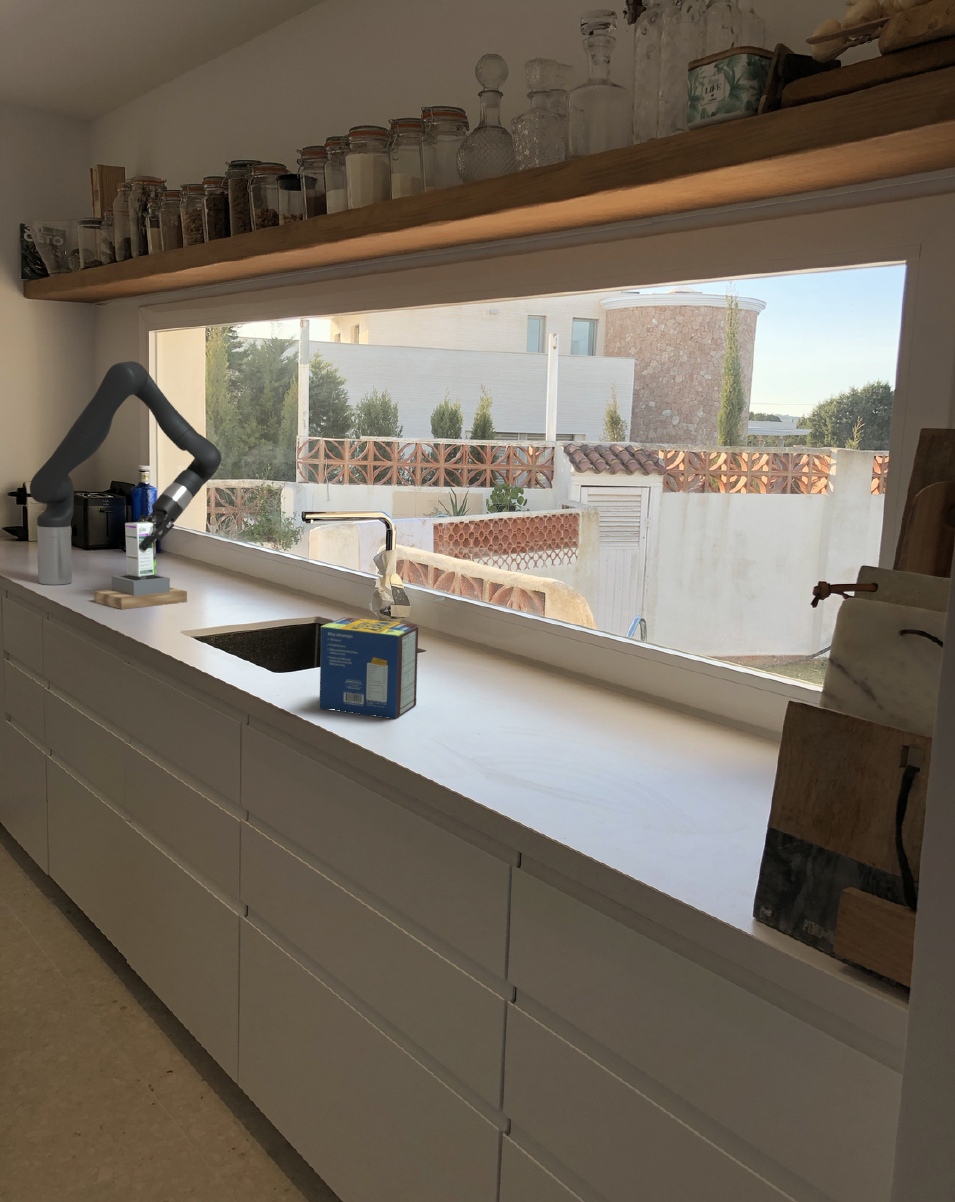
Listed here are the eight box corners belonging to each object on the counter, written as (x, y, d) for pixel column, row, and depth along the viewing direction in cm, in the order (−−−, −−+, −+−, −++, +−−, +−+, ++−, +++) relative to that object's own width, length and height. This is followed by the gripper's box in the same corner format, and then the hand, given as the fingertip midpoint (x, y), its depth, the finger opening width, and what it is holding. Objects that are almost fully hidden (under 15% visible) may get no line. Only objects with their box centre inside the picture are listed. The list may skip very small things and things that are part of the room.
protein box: (341, 695, 192) (343, 616, 190) (417, 705, 188) (419, 624, 185) (317, 709, 182) (319, 625, 180) (396, 720, 178) (399, 634, 175)
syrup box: (138, 577, 273) (137, 523, 270) (126, 574, 276) (124, 522, 274) (156, 575, 277) (155, 522, 275) (144, 572, 281) (143, 520, 278)
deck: (94, 601, 275) (94, 591, 274) (158, 594, 290) (158, 584, 289) (121, 609, 266) (121, 598, 265) (186, 601, 281) (186, 591, 281)
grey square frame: (112, 590, 277) (111, 576, 276) (147, 586, 285) (147, 572, 284) (133, 595, 270) (133, 581, 269) (169, 592, 278) (169, 577, 277)
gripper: (149, 491, 283) (111, 535, 276) (178, 495, 274) (140, 541, 267) (166, 509, 288) (129, 553, 281) (195, 513, 279) (158, 559, 272)
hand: (135, 547), depth 274 cm, fingers closed on syrup box, 6 cm apart
